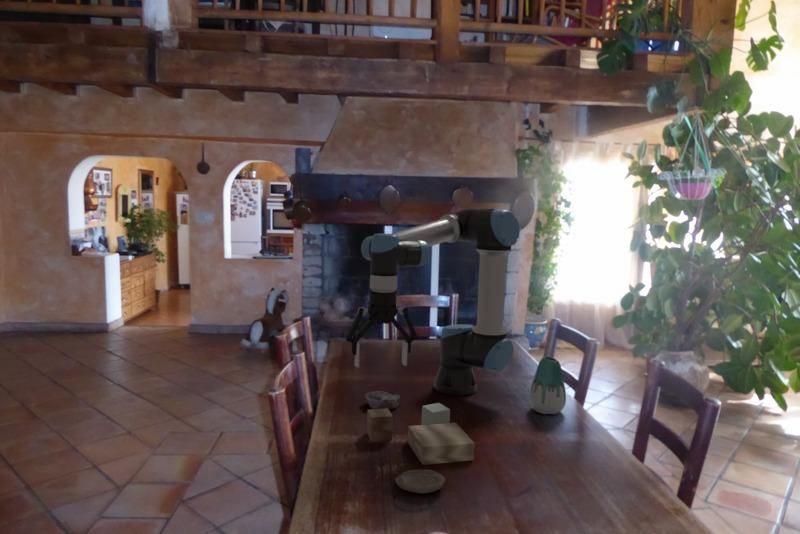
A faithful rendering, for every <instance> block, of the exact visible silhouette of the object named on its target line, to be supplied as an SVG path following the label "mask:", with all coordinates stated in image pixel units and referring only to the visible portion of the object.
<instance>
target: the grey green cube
mask: <svg viewBox="0 0 800 534" xmlns="http://www.w3.org/2000/svg"><path fill="white" fill-rule="evenodd" d="M450 419H451V409H450V408H449V407H447V406H445V405H444V404H442V403H440V402H435V403H431V404H425V405H422V406H421V421H420V422H421V425H431V424H445V423H451V422H450V421H451V420H450Z"/></svg>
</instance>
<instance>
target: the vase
mask: <svg viewBox="0 0 800 534" xmlns="http://www.w3.org/2000/svg"><path fill="white" fill-rule="evenodd" d="M563 377H564V376H563V370H562V365H561V363H560V361H559V360H558V359H556V358H554V357H551V356H543V357H541V359H540V360H539V362H538V364H537V367H536V371H535V373H534V376H533V379H532V382H531V385H530V388H529V393H528V401H529V404H530V405H531V408H532V409H533V410H534V411H535V412H537V413H538V412H539V413H538V414H541V413H542V414H541V415H546V414H554V415H557V414H559V413H561V412H562V411H563V409H564V408H565V406H566V403H567V393H566V385H565V382H564V378H563Z"/></svg>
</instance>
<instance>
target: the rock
mask: <svg viewBox="0 0 800 534" xmlns="http://www.w3.org/2000/svg"><path fill="white" fill-rule="evenodd" d="M364 397H365V401H366V402H367V405H368V406H369V409H370V410H371V409H389V410H391V409H392V410H393V409H396V408H397V407H398V406H399V405H400V402H401V401H400V399H401V397H400V395H399V394H392V393H390V392H387V391H384V390H375V391H368V392H366V393H365V394H364Z"/></svg>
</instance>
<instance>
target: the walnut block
mask: <svg viewBox="0 0 800 534" xmlns="http://www.w3.org/2000/svg"><path fill="white" fill-rule="evenodd" d="M366 411H367V413H366V414H367V415H366V416H367V417H366V434H367V437H368V438H369V441H370V442H373V443H374V442H384V441H392V440H393V426H394V425H393V424H394V423H393V422H394V416H393V414H392V413H391V411H390V409H371V408H370V409H367V410H366Z"/></svg>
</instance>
